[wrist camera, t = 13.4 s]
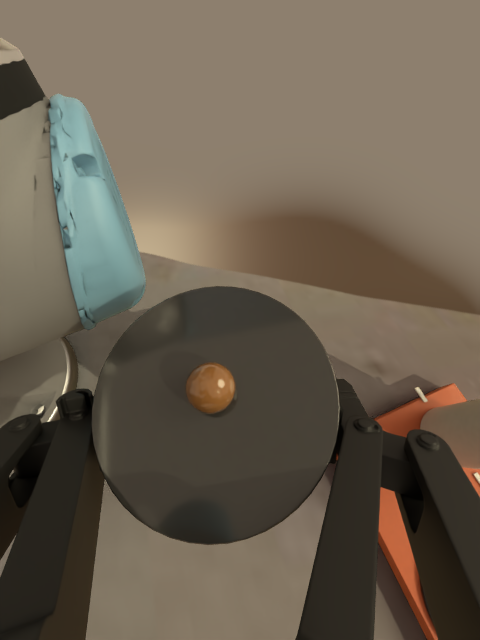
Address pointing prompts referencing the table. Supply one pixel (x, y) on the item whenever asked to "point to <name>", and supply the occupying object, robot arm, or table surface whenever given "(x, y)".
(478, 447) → the hob knob
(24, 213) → the robot arm
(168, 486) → the enamel pot
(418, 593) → the hot plate
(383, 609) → the table surface
